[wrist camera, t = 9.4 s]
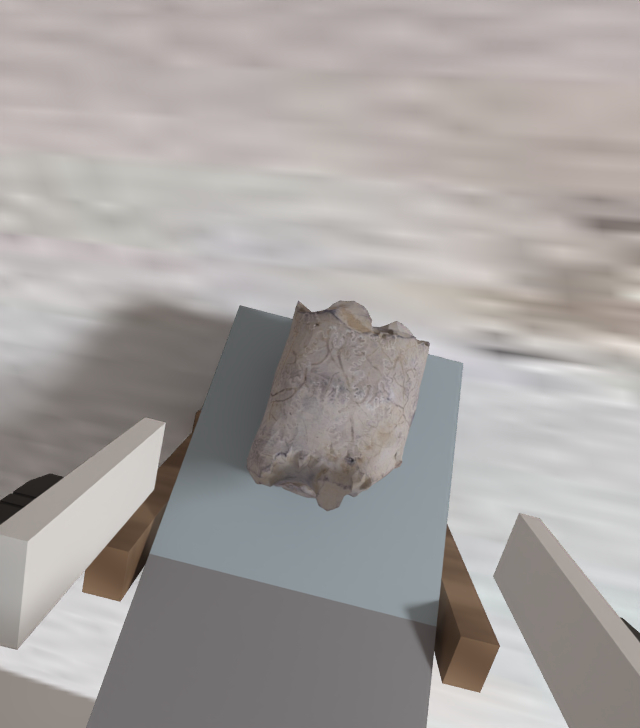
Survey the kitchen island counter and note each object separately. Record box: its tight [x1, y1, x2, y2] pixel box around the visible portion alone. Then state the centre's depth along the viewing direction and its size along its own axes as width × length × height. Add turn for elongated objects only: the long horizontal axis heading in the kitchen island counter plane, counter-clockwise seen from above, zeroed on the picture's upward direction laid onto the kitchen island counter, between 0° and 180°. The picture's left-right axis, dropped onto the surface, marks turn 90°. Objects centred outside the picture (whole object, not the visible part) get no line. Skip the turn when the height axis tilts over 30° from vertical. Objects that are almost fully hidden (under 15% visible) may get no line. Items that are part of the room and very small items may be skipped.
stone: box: [246, 301, 430, 511], centre depth 23 cm, size 8×12×7 cm
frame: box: [82, 410, 500, 693], centre depth 29 cm, size 5×22×17 cm, turn 76°
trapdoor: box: [86, 306, 463, 728], centre depth 25 cm, size 24×16×4 cm
